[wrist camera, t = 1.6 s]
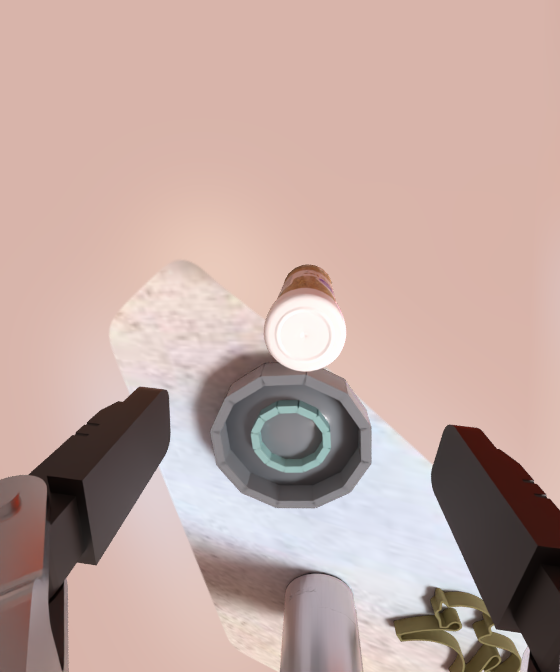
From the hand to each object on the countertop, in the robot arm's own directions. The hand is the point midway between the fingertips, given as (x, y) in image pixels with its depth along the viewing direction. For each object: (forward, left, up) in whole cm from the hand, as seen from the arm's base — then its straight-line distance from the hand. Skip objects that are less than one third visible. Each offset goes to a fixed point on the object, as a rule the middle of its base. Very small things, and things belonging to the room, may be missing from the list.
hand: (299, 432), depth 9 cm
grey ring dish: (-12, +10, -22) cm, 27 cm away
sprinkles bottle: (0, 0, -22) cm, 22 cm away
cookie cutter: (-51, +9, -22) cm, 56 cm away
